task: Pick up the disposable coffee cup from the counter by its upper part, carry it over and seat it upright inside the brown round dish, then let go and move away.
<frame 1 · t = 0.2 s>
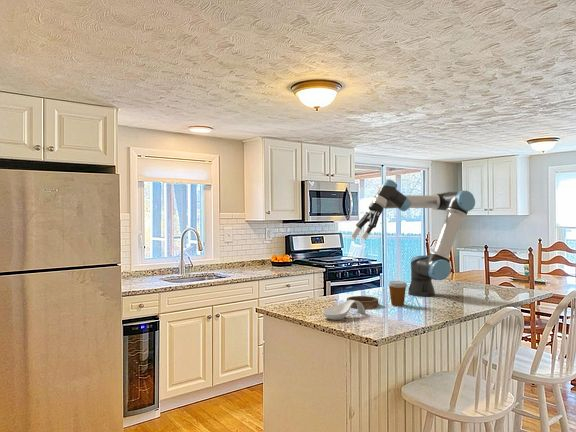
hand: (358, 238, 235), 35 cm above the countertop, tool tilted 35°, fingers open, 13 cm apart
disposable coffee cup: (397, 305, 229), on the countertop
spoon rest: (344, 317, 204), on the countertop
brown round dish: (362, 305, 229), on the countertop
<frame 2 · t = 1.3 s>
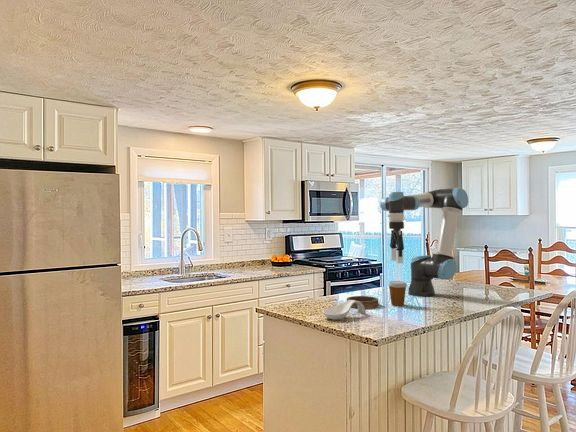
hand: (396, 261, 229), 23 cm above the countertop, tool pointing down, fingers open, 13 cm apart
nothing on the countertop moved.
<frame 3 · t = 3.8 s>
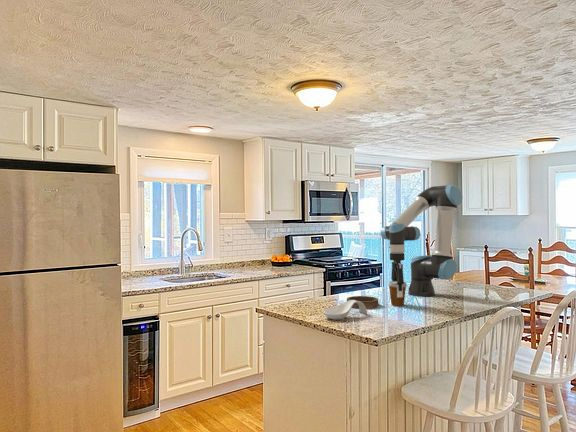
hand: (397, 295, 229), 5 cm above the countertop, tool pointing down, fingers closed on disposable coffee cup, 9 cm apart
disposable coffee cup: (397, 305, 229), on the countertop, touching gripper
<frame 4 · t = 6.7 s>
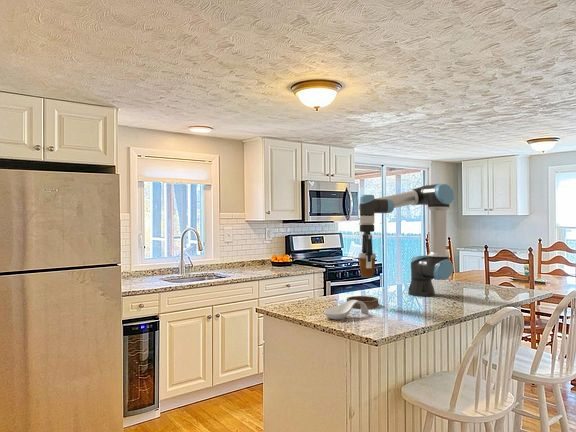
hand: (367, 267, 229), 20 cm above the countertop, tool pointing down, fingers closed on disposable coffee cup, 9 cm apart
disposable coffee cup: (367, 277, 229), point 15 cm above the countertop, touching gripper
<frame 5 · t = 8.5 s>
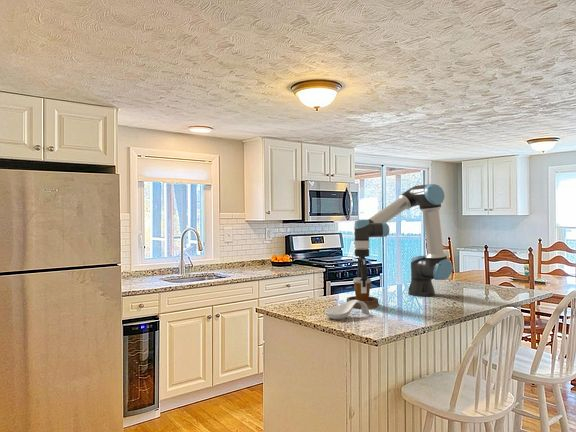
hand: (362, 291, 229), 7 cm above the countertop, tool pointing down, fingers closed on disposable coffee cup, 9 cm apart
disposable coffee cup: (362, 301, 229), point 2 cm above the countertop, touching gripper
when the fingers open (6 cm above the countertop, at t = 9.8 s): disposable coffee cup stays where it is, resting on brown round dish.
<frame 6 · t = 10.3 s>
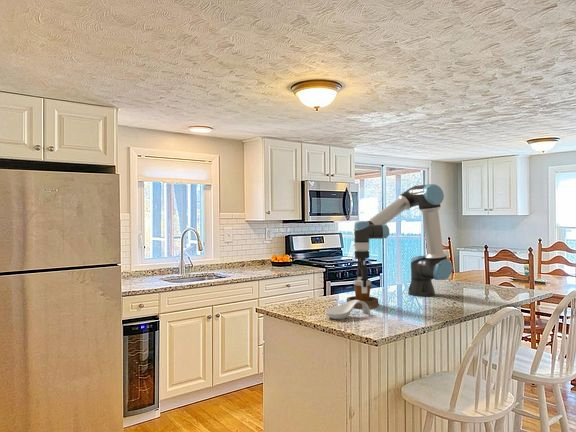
hand: (362, 291, 229), 8 cm above the countertop, tool pointing down, fingers open, 13 cm apart
disposable coffee cup: (362, 303, 229), point 1 cm above the countertop, touching brown round dish
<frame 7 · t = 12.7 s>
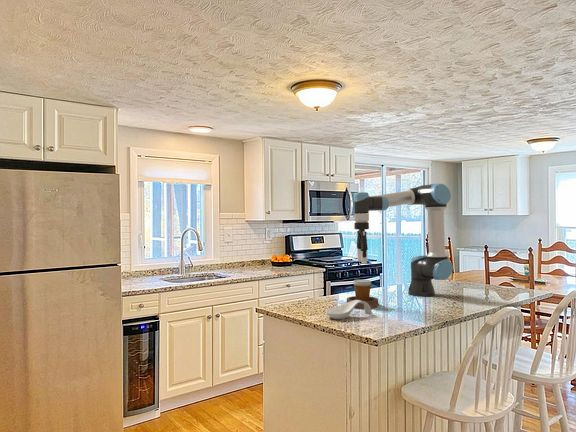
hand: (362, 262, 230), 23 cm above the countertop, tool pointing down, fingers open, 13 cm apart
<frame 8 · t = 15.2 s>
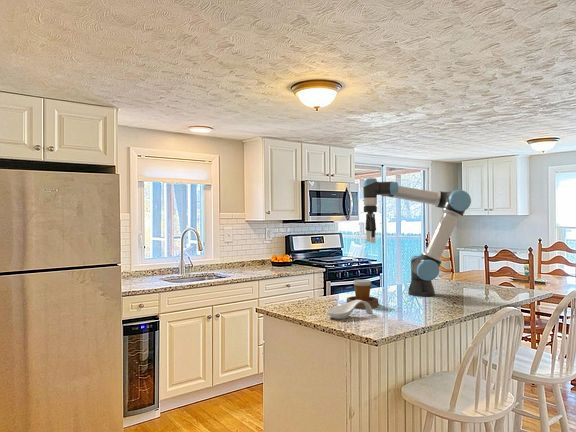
hand: (370, 242, 251), 32 cm above the countertop, tool pointing down, fingers open, 13 cm apart
at the end: disposable coffee cup 0.1 cm off-centre on the brown round dish, point 0.8 cm above the brown round dish's base; disposable coffee cup tilted 0°; the gripper is holding nothing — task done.
